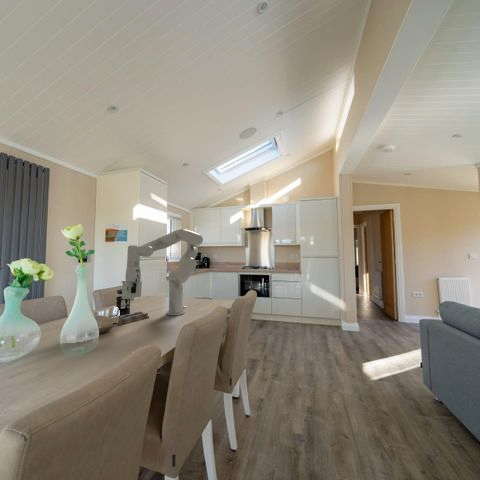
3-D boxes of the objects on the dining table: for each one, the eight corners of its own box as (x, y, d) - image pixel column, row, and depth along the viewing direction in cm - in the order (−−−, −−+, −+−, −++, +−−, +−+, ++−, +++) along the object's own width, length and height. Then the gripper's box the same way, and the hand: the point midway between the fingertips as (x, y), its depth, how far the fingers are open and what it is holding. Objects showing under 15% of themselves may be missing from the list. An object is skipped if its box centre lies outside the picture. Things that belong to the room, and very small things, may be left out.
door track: (138, 315, 168) (139, 311, 168) (149, 317, 162) (149, 313, 162) (110, 322, 151) (110, 317, 151) (120, 325, 145) (120, 320, 145)
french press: (120, 312, 176) (121, 280, 177) (133, 312, 175) (134, 280, 176) (110, 316, 164) (112, 282, 165) (124, 316, 164) (125, 282, 165)
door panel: (138, 296, 163) (139, 281, 163) (141, 296, 161) (142, 281, 162) (121, 298, 152) (122, 282, 153) (124, 299, 151) (125, 283, 151)
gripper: (146, 264, 157) (144, 293, 156) (130, 263, 166) (129, 291, 165) (135, 265, 151) (134, 295, 150) (120, 264, 159) (119, 292, 158)
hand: (131, 292), depth 157 cm, fingers closed on door panel, 2 cm apart
